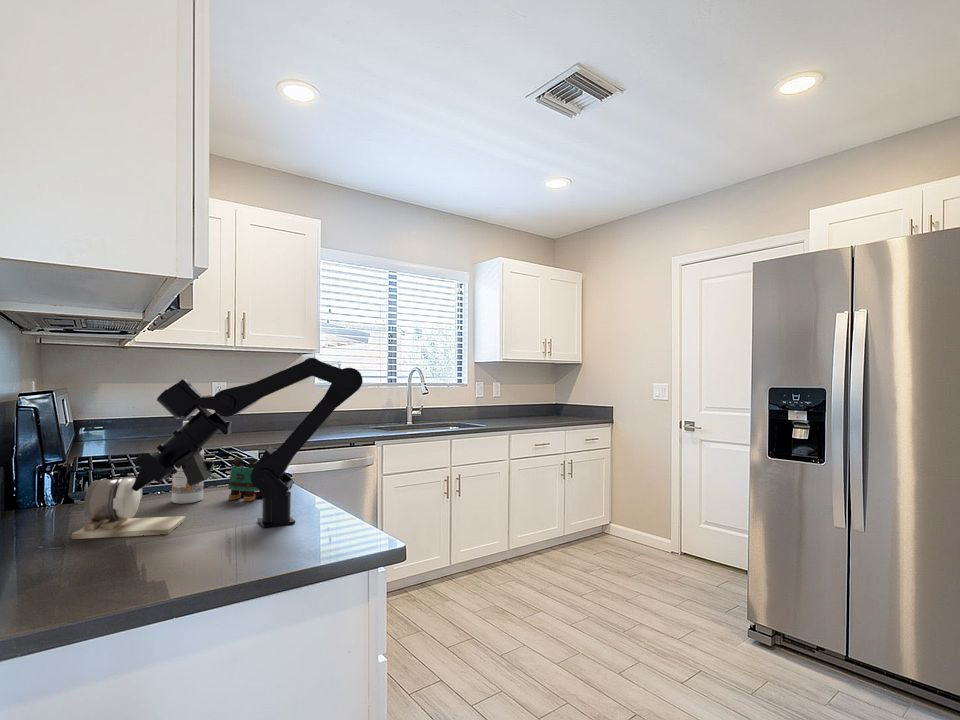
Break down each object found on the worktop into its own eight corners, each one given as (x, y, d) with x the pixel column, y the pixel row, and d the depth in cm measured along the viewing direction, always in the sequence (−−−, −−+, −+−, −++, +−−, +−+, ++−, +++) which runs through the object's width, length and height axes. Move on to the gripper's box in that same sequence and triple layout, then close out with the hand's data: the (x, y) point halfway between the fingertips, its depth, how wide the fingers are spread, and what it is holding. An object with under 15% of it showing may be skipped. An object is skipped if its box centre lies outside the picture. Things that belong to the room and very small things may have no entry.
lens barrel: (130, 514, 113) (131, 474, 113) (111, 525, 105) (112, 482, 105) (103, 515, 112) (104, 475, 112) (82, 527, 104) (84, 483, 104)
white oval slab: (141, 511, 114) (142, 474, 114) (121, 524, 104) (122, 483, 105) (133, 511, 114) (134, 474, 114) (112, 524, 104) (113, 483, 104)
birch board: (185, 520, 116) (185, 510, 116) (168, 534, 106) (168, 523, 106) (97, 524, 112) (97, 514, 112) (71, 539, 102) (71, 527, 102)
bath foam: (164, 503, 131) (166, 422, 131) (184, 497, 138) (186, 419, 138) (190, 504, 130) (192, 422, 130) (209, 498, 137) (210, 420, 137)
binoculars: (279, 457, 142) (253, 459, 133) (275, 498, 141) (249, 502, 132) (251, 455, 145) (224, 457, 136) (248, 495, 144) (220, 499, 134)
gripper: (210, 469, 104) (146, 529, 101) (233, 454, 122) (179, 505, 120) (166, 429, 102) (100, 488, 100) (197, 420, 121) (141, 471, 118)
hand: (134, 489), depth 109 cm, fingers closed, pressing on white oval slab
